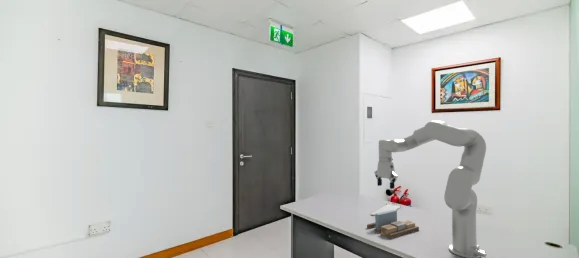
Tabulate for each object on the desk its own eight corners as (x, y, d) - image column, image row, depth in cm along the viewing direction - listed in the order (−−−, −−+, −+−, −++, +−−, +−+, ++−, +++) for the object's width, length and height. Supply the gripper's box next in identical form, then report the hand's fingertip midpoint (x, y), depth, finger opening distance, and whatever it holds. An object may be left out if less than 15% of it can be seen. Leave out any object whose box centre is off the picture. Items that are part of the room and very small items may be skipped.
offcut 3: (415, 229, 145) (415, 223, 145) (407, 231, 142) (407, 225, 142) (407, 226, 150) (407, 220, 150) (400, 228, 147) (399, 222, 147)
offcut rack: (418, 230, 144) (418, 226, 144) (390, 238, 133) (390, 235, 133) (394, 220, 159) (394, 217, 159) (367, 227, 149) (367, 224, 149)
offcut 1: (396, 235, 138) (396, 227, 138) (388, 237, 135) (388, 229, 135) (389, 231, 143) (389, 224, 143) (381, 234, 139) (381, 226, 139)
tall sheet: (397, 225, 153) (396, 210, 153) (378, 230, 145) (378, 214, 146) (393, 223, 155) (393, 209, 155) (375, 228, 148) (375, 213, 148)
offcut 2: (406, 232, 142) (406, 223, 142) (398, 234, 139) (397, 225, 139) (399, 229, 146) (398, 220, 146) (390, 231, 143) (390, 223, 143)
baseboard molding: (367, 215, 173) (384, 219, 164) (367, 211, 173) (384, 215, 164) (385, 205, 195) (400, 208, 187) (385, 201, 195) (400, 204, 187)
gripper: (401, 160, 145) (401, 189, 145) (378, 158, 161) (379, 183, 160) (392, 161, 142) (393, 190, 142) (370, 158, 157) (370, 185, 157)
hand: (385, 187), depth 151 cm, fingers open, 9 cm apart
